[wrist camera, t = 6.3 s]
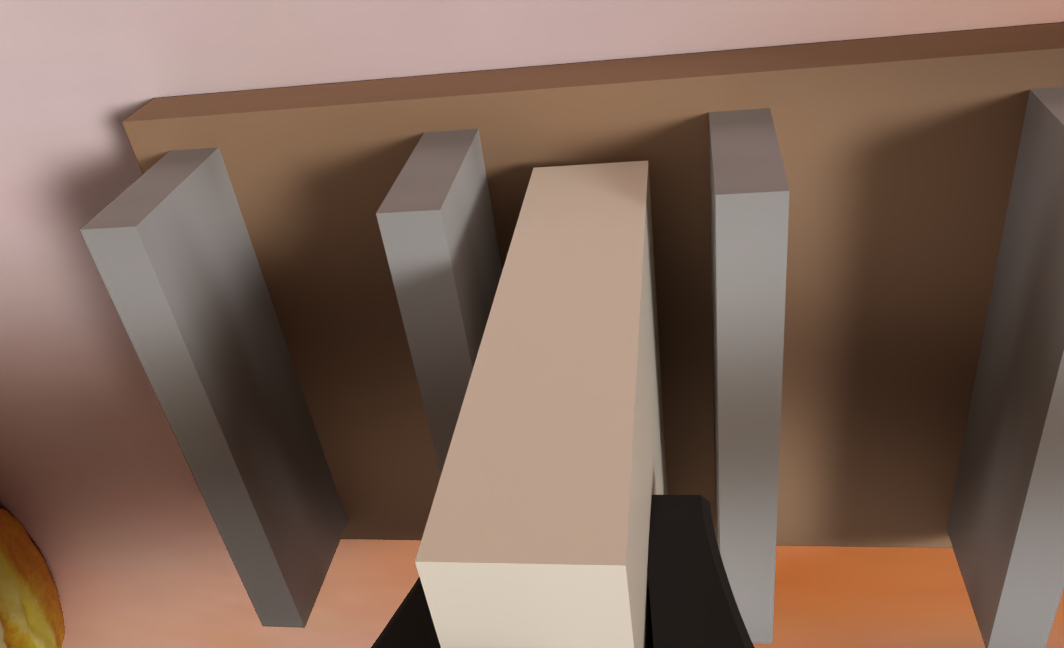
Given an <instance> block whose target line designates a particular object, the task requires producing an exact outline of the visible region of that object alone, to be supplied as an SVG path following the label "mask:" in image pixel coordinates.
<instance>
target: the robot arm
mask: <svg viewBox="0 0 1064 648" xmlns="http://www.w3.org/2000/svg"><path fill="white" fill-rule="evenodd" d="M647 571H648V584H649V596H650V609H651V621H652V633H653V646H654V648H754V646H753V644H752V641H751V639H750V636H749V634H748V631H747V629H746V627H745V624H744V622H743V619H742V617H741V614H740V611H739V609H738V606H737V603H736V601H735V598H734V595H733V592H732V589H731V586H730V583H729V580H728V577H727V574H726V571H725V568H724V565H723V561H722V558H721V554H720V551H719V547H718V543H717V539H716V535H715V531H714V526H713V521H712V515H711V507H710V502H709V501H708V500H707V499H705V498H704V497H703V496H701V495H652V499H651V513H650V528H649V545H648V564H647ZM371 648H441V647H440V643H439V640H438V637H437V633H436V630H435V627H434V623H433V620H432V617H431V613H430V610H429V607H428V603H427V600H426V597H425V593H424V590H423V587H422V583H421V580H420V577H419V578H418V580H417V581H416V583H415V584H414V586H413V587H412V589H411V590H410V592H409V593H408V595H407V596H406V598H405V599H404V601H403V602H402V604H401V605H400V607H399V608H398V609H397V611H396V612H395V614H394V615H393V617H392V618H391V620H390V621H389V623H388V624H387V626H386V627H385V629H384V630H383V631H382V633H381V634H380V636H379V637H378V639H377V640H376V641H375V643H374V644H373V646H372V647H371Z"/></svg>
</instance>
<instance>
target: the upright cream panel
mask: <svg viewBox="0 0 1064 648" xmlns="http://www.w3.org/2000/svg"><path fill="white" fill-rule="evenodd" d="M652 495H668V489H667V472H666V454H665V437H664V420H663V403H662V386H661V369H660V352H659V335H658V317H657V300H656V283H655V266H654V249H653V232H652V215H651V198H650V180H649V163H648V161H632V162H617V163H601V164H585V165H569V166H553V167H537V168H533V171H532V174H531V178H530V181H529V184H528V188H527V191H526V194H525V198H524V201H523V204H522V208H521V211H520V214H519V218H518V221H517V224H516V227H515V231H514V234H513V237H512V241H511V244H510V247H509V251H508V254H507V257H506V261H505V264H504V267H503V271H502V274H501V277H500V281H499V284H498V287H497V291H496V294H495V297H494V301H493V304H492V307H491V311H490V314H489V317H488V321H487V324H486V327H485V331H484V334H483V337H482V341H481V344H480V347H479V351H478V354H477V357H476V361H475V364H474V367H473V371H472V374H471V377H470V381H469V384H468V387H467V390H466V394H465V397H464V400H463V404H462V407H461V410H460V414H459V417H458V420H457V424H456V427H455V430H454V434H453V437H452V440H451V444H450V447H449V450H448V454H447V457H446V460H445V464H444V467H443V470H442V474H441V477H440V480H439V484H438V487H437V490H436V494H435V497H434V500H433V504H432V507H431V510H430V514H429V517H428V520H427V524H426V527H425V530H424V534H423V537H422V540H421V544H420V547H419V550H418V553H417V557H416V560H415V563H416V567H417V570H418V573H419V577H420V580H421V583H422V587H423V590H424V593H425V597H426V600H427V603H428V607H429V610H430V613H431V617H432V620H433V623H434V627H435V630H436V633H437V637H438V640H439V643H440V647H441V648H654V646H653V633H652V621H651V609H650V596H649V584H648V571H647V564H648V545H649V528H650V513H651V499H652Z"/></svg>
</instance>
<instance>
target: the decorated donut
mask: <svg viewBox="0 0 1064 648" xmlns="http://www.w3.org/2000/svg"><path fill="white" fill-rule="evenodd" d="M64 635H65V626H64V619H63V612H62V608H61V603H60V600H59V595H58V591H57V588H56V586H55V584H54V582H53V580H52V577H51V574H50V572H49V569H48V566H47V565H46V564H45V561H44V559H43V557H42V555H41V554H40V553H39V551H38V550H37V548H36V546H35V545H34V544H33V542H32V541H31V539H30V538H29V535H28V534H27V533H26V531H25V529H24V527H23V525H22V524H21V523H20V522H19V521H18V520H17V519H16V518H14V517H13V516H12V515H10V514H9V512H7V511H6V510H4V509H1V508H0V648H61V647H62V642H63V639H64Z"/></svg>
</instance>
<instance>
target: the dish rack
mask: <svg viewBox="0 0 1064 648" xmlns="http://www.w3.org/2000/svg"><path fill="white" fill-rule="evenodd" d="M122 124H123V126H124V129H125V131H126V134H127V136H128V139H129V141H130V144H131V146H132V148H133V151H134V153H135V156H136V158H137V161H138V163H139V166H140V168H141V171H142V173H143V175H142V176H141V177H139V178H138V179H137V180H136V181H135V182H134V183H133V184H131V185H130V186H129V187H128V188H127V189H126V190H124V191H123V192H122V193H121V194H120V195H119V196H118V197H116V198H115V199H114V200H113V201H112V202H111V203H110V204H108V205H107V206H106V207H105V208H104V209H103V210H102V211H100V212H99V213H98V214H97V215H96V216H95V217H93V218H92V219H91V220H90V221H89V222H88V223H87V224H85V225H84V226H83V227H82V228H81V229H80V232H81V234H82V236H83V238H84V241H85V243H86V245H87V247H88V249H89V251H90V253H91V256H92V258H93V260H94V262H95V264H96V266H97V269H98V271H99V273H100V275H101V277H102V279H103V282H104V284H105V286H106V288H107V290H108V292H109V295H110V297H111V299H112V301H113V303H114V305H115V308H116V310H117V312H118V314H119V316H120V318H121V321H122V323H123V325H124V327H125V329H126V331H127V334H128V336H129V338H130V340H131V342H132V344H133V347H134V349H135V351H136V353H137V355H138V357H139V360H140V362H141V364H142V366H143V368H144V370H145V373H146V375H147V377H148V379H149V381H150V383H151V386H152V388H153V390H154V392H155V394H156V396H157V399H158V401H159V403H160V405H161V407H162V409H163V411H164V414H165V416H166V418H167V420H168V422H169V424H170V427H171V429H172V431H173V433H174V435H175V437H176V440H177V442H178V444H179V446H180V448H181V450H182V453H183V455H184V457H185V459H186V461H187V463H188V466H189V468H190V470H191V472H192V474H193V476H194V479H195V481H196V483H197V485H198V487H199V489H200V492H201V494H202V496H203V498H204V500H205V502H206V505H207V507H208V509H209V511H210V513H211V515H212V518H213V520H214V522H215V524H216V526H217V528H218V531H219V533H220V535H221V537H222V539H223V541H224V544H225V546H226V548H227V550H228V552H229V554H230V557H231V559H232V561H233V563H234V565H235V567H236V569H237V572H238V574H239V576H240V578H241V580H242V582H243V585H244V587H245V589H246V591H247V593H248V595H249V598H250V600H251V602H252V604H253V606H254V608H255V611H256V613H257V615H258V617H259V619H260V621H261V624H262V626H273V627H302V628H305V626H306V623H307V621H308V618H309V616H310V613H311V611H312V608H313V606H314V603H315V601H316V598H317V596H318V594H319V591H320V589H321V586H322V584H323V581H324V579H325V576H326V574H327V571H328V569H329V566H330V564H331V561H332V559H333V556H334V554H335V551H336V549H337V547H338V544H339V542H340V539H379V540H422V537H423V534H424V530H425V527H426V524H427V520H428V517H429V514H430V510H431V507H432V504H433V500H434V497H435V494H436V490H437V487H438V484H439V480H440V477H441V474H442V470H443V467H444V464H445V460H446V457H447V454H448V450H449V447H450V444H451V440H452V437H453V434H454V430H455V427H456V424H457V420H458V417H459V414H460V410H461V407H462V404H463V400H464V397H465V394H466V390H467V387H468V384H469V381H470V377H471V374H472V371H473V367H474V364H475V361H476V357H477V354H478V351H479V347H480V344H481V341H482V337H483V334H484V331H485V327H486V324H487V321H488V317H489V314H490V311H491V307H492V304H493V301H494V297H495V294H496V291H497V287H498V284H499V281H500V277H501V274H502V271H503V267H504V264H505V261H506V257H507V254H508V251H509V247H510V244H511V241H512V237H513V234H514V231H515V227H516V224H517V221H518V218H519V214H520V211H521V208H522V204H523V201H524V198H525V194H526V191H527V188H528V184H529V181H530V178H531V174H532V171H533V168H537V167H553V166H569V165H585V164H601V163H617V162H632V161H648V163H649V180H650V198H651V215H652V232H653V249H654V266H655V283H656V300H657V317H658V335H659V352H660V369H661V386H662V403H663V420H664V437H665V454H666V472H667V489H668V495H701V496H703V497H704V498H705V499H707V500H708V501H709V502H710V507H711V515H712V521H713V526H714V531H715V535H716V539H717V543H718V547H719V551H720V554H721V558H722V561H723V565H724V568H725V571H726V574H727V577H728V580H729V583H730V586H731V589H732V592H733V595H734V598H735V601H736V603H737V606H738V609H739V611H740V614H741V617H742V619H743V622H744V624H745V627H746V629H747V631H748V634H749V636H750V639H751V641H752V643H765V644H772V637H773V610H774V584H775V558H776V546H840V547H906V548H953V550H954V553H955V556H956V559H957V562H958V565H959V568H960V571H961V574H962V577H963V580H964V583H965V586H966V589H967V592H968V595H969V598H970V601H971V604H972V607H973V610H974V613H975V616H976V619H977V622H978V625H979V628H980V631H981V635H982V638H983V641H984V644H985V647H986V648H1045V647H1046V644H1047V641H1048V637H1049V634H1050V631H1051V628H1052V625H1053V621H1054V618H1055V615H1056V612H1057V608H1058V605H1059V602H1060V599H1061V596H1062V592H1063V589H1064V22H1062V23H1050V24H1038V25H1026V26H1014V27H1002V28H990V29H978V30H966V31H954V32H942V33H930V34H918V35H906V36H894V37H882V38H870V39H858V40H846V41H834V42H822V43H810V44H798V45H786V46H774V47H762V48H750V49H738V50H726V51H714V52H702V53H690V54H678V55H666V56H654V57H642V58H630V59H618V60H606V61H594V62H582V63H570V64H558V65H546V66H534V67H522V68H510V69H498V70H486V71H474V72H462V73H450V74H438V75H426V76H414V77H402V78H390V79H378V80H366V81H354V82H342V83H330V84H318V85H306V86H294V87H282V88H270V89H259V90H247V91H235V92H223V93H211V94H199V95H187V96H175V97H163V98H154V99H152V100H151V101H150V102H148V103H147V104H146V105H144V106H143V107H142V108H140V109H139V110H138V111H136V112H135V113H133V114H132V115H131V116H129V117H128V118H127V119H125V120H124V121H123V122H122Z"/></svg>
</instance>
